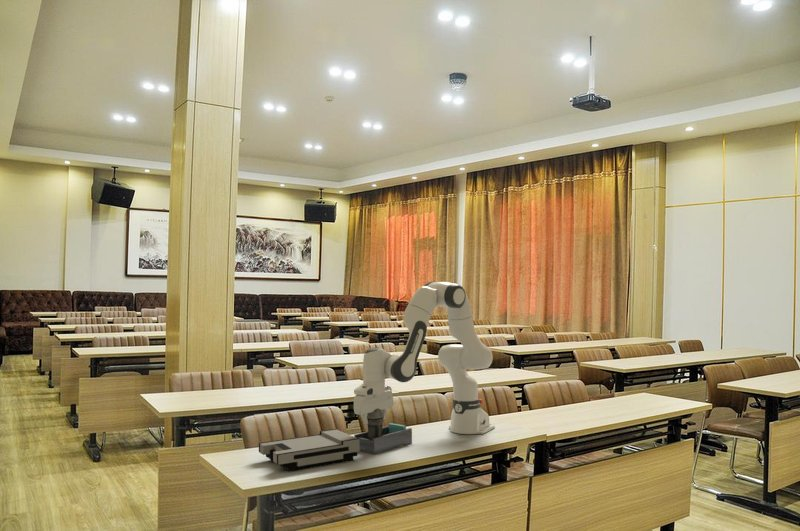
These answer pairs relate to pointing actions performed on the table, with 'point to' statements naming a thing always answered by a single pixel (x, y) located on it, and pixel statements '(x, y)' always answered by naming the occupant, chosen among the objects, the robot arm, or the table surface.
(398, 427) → the pusher
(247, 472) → the table surface
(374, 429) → the beverage cup
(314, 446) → the game console
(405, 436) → the grey open box
